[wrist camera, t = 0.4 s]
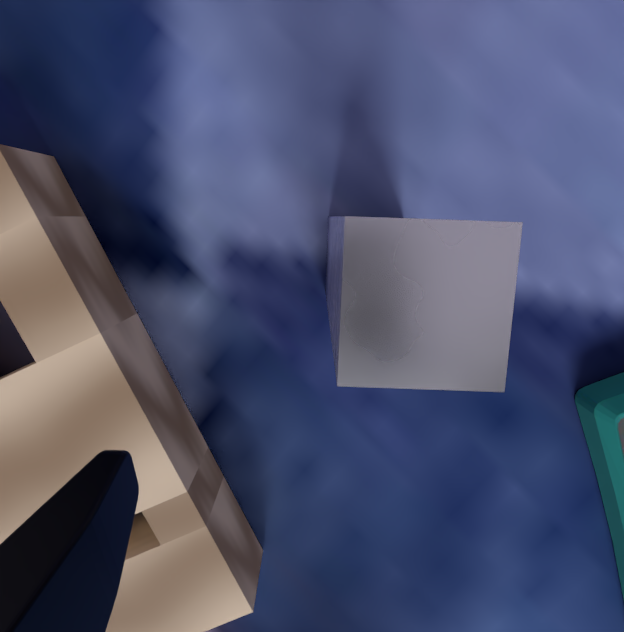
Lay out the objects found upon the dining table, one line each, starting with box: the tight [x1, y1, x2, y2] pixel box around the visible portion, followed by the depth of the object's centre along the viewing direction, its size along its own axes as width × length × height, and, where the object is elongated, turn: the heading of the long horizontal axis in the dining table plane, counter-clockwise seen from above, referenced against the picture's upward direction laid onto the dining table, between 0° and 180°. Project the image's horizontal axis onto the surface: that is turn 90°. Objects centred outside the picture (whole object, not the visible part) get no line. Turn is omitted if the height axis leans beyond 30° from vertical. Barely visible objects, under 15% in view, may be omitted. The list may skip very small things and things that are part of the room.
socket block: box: [0, 144, 263, 632], centre depth 22 cm, size 20×10×4 cm, turn 25°
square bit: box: [325, 216, 523, 392], centre depth 16 cm, size 3×3×13 cm
